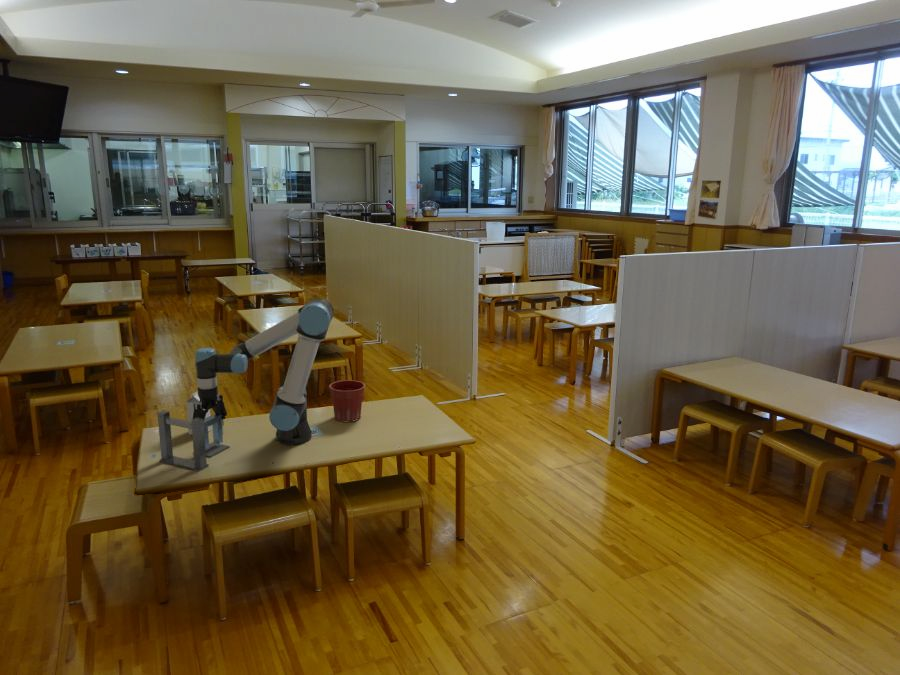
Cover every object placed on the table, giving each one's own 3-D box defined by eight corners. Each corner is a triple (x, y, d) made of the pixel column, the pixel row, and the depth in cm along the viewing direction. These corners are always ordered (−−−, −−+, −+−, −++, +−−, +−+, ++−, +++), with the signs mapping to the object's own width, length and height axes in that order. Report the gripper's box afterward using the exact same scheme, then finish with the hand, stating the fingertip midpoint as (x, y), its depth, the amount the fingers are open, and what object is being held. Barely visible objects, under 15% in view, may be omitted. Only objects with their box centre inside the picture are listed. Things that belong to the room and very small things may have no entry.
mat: (229, 447, 267) (229, 446, 267) (210, 457, 257) (210, 456, 257) (212, 443, 270) (212, 442, 270) (193, 453, 261) (193, 452, 260)
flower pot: (339, 409, 313) (338, 378, 309) (370, 413, 309) (370, 382, 305) (324, 421, 298) (323, 388, 294) (356, 426, 294) (356, 392, 290)
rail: (208, 466, 250) (205, 417, 245) (199, 471, 245) (195, 422, 240) (169, 456, 257) (165, 409, 252) (159, 461, 253) (155, 413, 248)
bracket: (217, 440, 268) (215, 413, 266) (222, 441, 267) (221, 414, 264) (199, 449, 259) (197, 421, 257) (205, 450, 258) (203, 422, 255)
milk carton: (211, 429, 285) (208, 389, 280) (204, 436, 278) (201, 394, 273) (196, 428, 286) (193, 388, 281) (188, 435, 279) (185, 393, 274)
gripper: (220, 377, 269) (223, 427, 274) (178, 393, 248) (182, 446, 254) (234, 380, 266) (237, 430, 271) (193, 396, 246) (197, 450, 251)
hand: (211, 438), depth 263 cm, fingers closed on bracket, 10 cm apart
